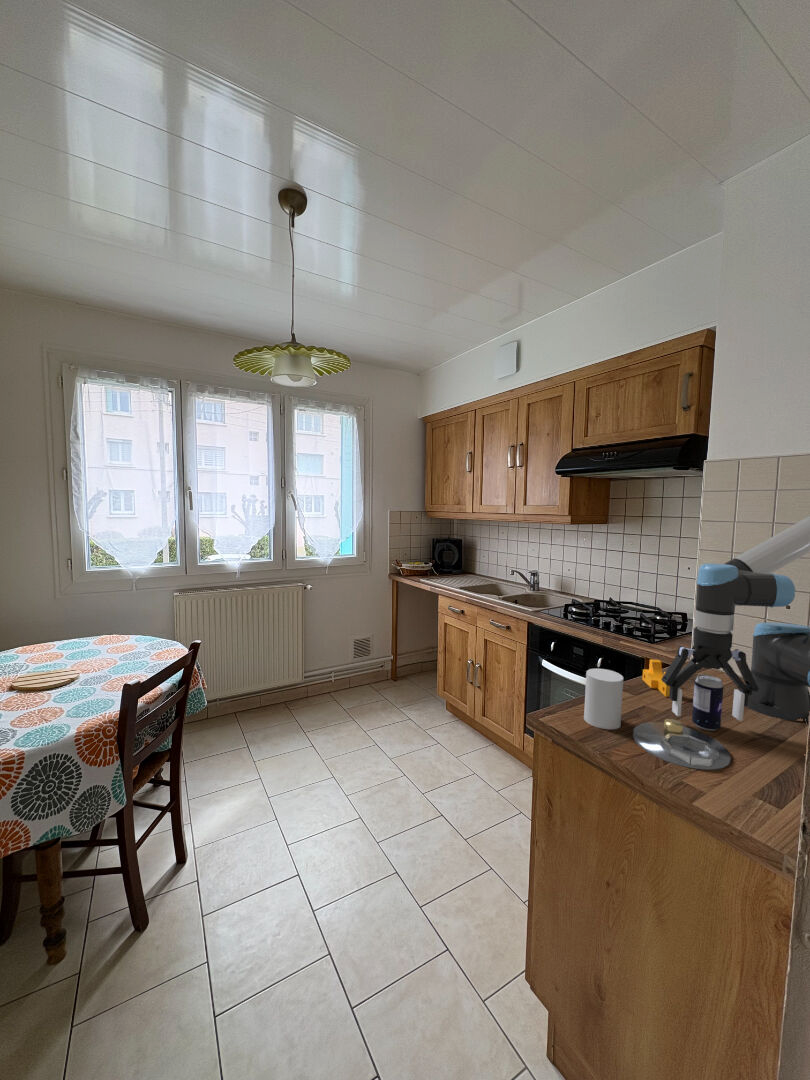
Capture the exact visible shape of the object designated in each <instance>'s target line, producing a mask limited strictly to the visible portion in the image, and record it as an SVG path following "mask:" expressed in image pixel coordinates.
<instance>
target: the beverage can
mask: <svg viewBox="0 0 810 1080" xmlns="http://www.w3.org/2000/svg"><path fill="white" fill-rule="evenodd" d="M693 685H694V686H693V700H692V713H691V721H692V723H693V724H694V725H695V726H696V727H697V728H699V729H702V730H705V731H710V732H714V731H717V730H719V729H720V728H721V726H722V725H721V724H722V715H723V714H722V711H723V698H724V684H723V680H722V679H721V678H719V677H716V676H713V675H707V674H698V675H696V678H695V680H694V684H693Z"/></svg>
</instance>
